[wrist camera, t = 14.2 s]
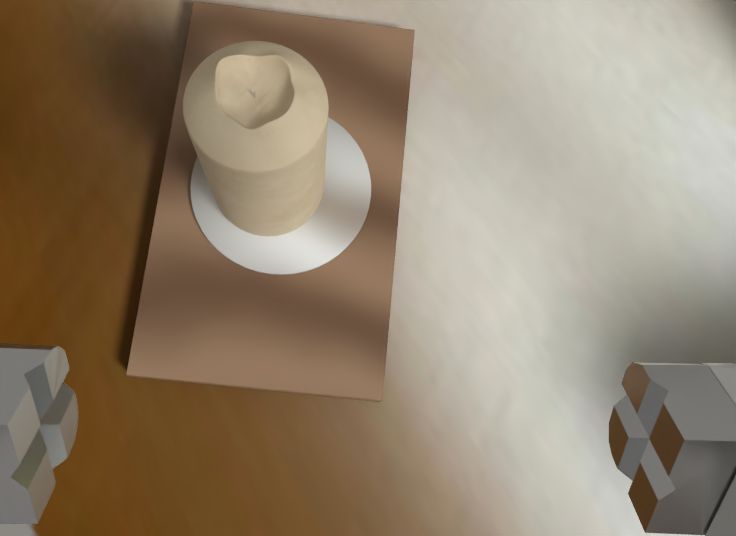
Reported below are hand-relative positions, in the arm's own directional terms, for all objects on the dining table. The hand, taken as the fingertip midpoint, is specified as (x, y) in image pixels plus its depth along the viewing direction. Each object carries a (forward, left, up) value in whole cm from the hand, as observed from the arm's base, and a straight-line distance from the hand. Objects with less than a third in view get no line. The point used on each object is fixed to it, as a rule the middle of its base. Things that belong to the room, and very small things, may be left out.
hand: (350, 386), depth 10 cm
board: (+11, +3, -24) cm, 27 cm away
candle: (+11, +4, -23) cm, 26 cm away
